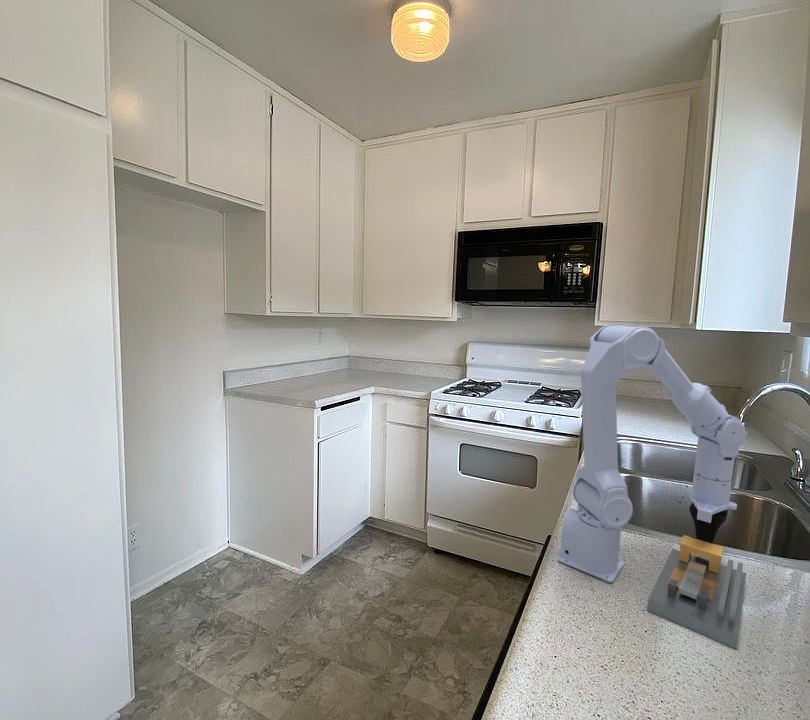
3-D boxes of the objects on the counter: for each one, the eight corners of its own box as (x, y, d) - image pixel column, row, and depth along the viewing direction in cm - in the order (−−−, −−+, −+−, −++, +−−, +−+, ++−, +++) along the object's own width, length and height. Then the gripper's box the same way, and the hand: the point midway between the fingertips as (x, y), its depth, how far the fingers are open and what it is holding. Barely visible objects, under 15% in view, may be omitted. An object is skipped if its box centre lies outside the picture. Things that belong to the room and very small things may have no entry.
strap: (678, 592, 67) (678, 588, 66) (689, 563, 75) (689, 560, 75) (696, 599, 65) (697, 595, 65) (705, 569, 73) (706, 565, 73)
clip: (678, 559, 77) (680, 543, 76) (682, 551, 80) (683, 535, 79) (719, 574, 73) (721, 556, 72) (721, 564, 76) (723, 547, 75)
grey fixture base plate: (647, 610, 66) (650, 584, 66) (671, 558, 81) (674, 536, 80) (736, 649, 59) (740, 619, 58) (744, 584, 74) (748, 560, 73)
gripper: (736, 493, 71) (727, 569, 72) (742, 471, 82) (733, 538, 83) (686, 481, 75) (678, 553, 77) (698, 462, 86) (691, 525, 88)
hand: (704, 544), depth 80 cm, fingers closed
